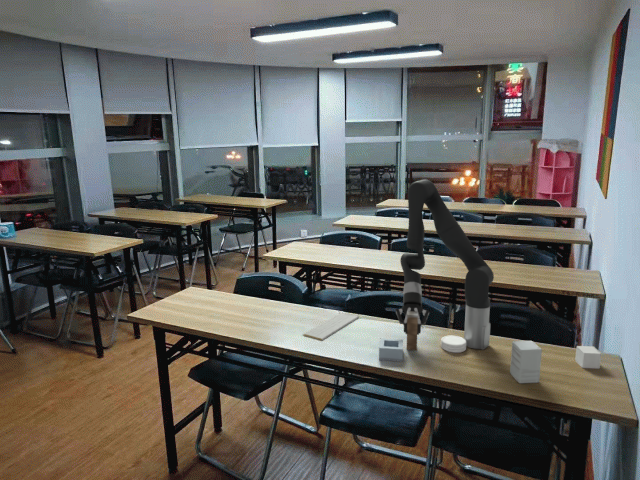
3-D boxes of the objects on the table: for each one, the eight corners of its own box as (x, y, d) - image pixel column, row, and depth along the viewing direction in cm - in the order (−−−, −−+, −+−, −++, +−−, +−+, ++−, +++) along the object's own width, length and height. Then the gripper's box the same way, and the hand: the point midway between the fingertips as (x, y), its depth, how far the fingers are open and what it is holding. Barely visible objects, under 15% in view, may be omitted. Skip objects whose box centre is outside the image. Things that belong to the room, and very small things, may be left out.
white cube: (575, 360, 175) (576, 345, 174) (591, 361, 174) (593, 346, 173) (582, 368, 169) (584, 353, 168) (599, 368, 169) (601, 353, 167)
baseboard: (299, 335, 203) (322, 342, 196) (299, 329, 202) (322, 335, 196) (337, 313, 228) (358, 319, 221) (337, 308, 227) (358, 313, 220)
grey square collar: (402, 351, 185) (402, 339, 184) (402, 361, 176) (402, 349, 175) (380, 349, 186) (380, 338, 185) (378, 359, 178) (379, 347, 177)
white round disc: (442, 352, 184) (442, 344, 183) (439, 342, 193) (439, 334, 192) (468, 353, 182) (468, 345, 181) (464, 343, 192) (464, 335, 191)
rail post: (416, 346, 189) (417, 311, 186) (417, 350, 185) (418, 315, 182) (406, 345, 190) (407, 311, 187) (406, 349, 186) (407, 314, 183)
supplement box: (529, 372, 166) (532, 340, 164) (539, 383, 159) (542, 349, 157) (509, 373, 166) (511, 340, 164) (518, 383, 159) (521, 349, 156)
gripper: (395, 290, 192) (394, 329, 182) (430, 291, 189) (431, 331, 180) (395, 298, 198) (394, 336, 189) (429, 299, 195) (429, 338, 186)
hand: (412, 333), depth 184 cm, fingers closed on rail post, 4 cm apart
